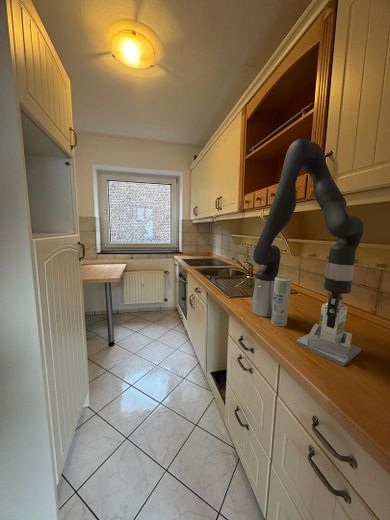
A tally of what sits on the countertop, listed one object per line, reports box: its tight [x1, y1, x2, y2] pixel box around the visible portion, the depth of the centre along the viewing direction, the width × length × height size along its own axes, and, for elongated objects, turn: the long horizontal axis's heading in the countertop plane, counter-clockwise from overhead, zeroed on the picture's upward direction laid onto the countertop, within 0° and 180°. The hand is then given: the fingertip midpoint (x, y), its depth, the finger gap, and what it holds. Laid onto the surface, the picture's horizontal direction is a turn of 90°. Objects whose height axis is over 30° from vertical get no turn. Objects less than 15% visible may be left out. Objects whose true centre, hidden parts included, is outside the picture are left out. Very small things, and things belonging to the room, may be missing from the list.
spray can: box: [270, 276, 292, 327], centre depth 90 cm, size 6×6×20 cm
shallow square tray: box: [307, 323, 353, 359], centre depth 72 cm, size 11×11×4 cm
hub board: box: [295, 333, 362, 367], centre depth 73 cm, size 15×14×1 cm
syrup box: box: [318, 302, 348, 343], centre depth 72 cm, size 6×6×14 cm
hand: (332, 322), depth 71 cm, fingers open, 8 cm apart
